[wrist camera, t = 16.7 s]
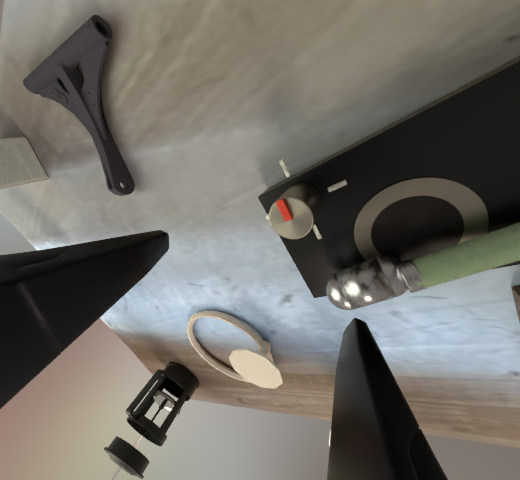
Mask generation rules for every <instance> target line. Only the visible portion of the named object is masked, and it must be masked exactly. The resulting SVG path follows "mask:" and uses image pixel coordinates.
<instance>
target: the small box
mask: <svg viewBox="0 0 520 480" xmlns="http://www.w3.org/2000/svg"><path fill="white" fill-rule="evenodd" d="M45 179H48V176H47V174H46V172H45V171H44V169H43V167H42V165H41V164H40V162H39V160H38V158H37V156H36V154H35V153H34V151H33V149H32V147H31V145H30V144H29V142H28V140H27V139H26V137H11V138H0V189H3V188H7V187H12V186H17V185H22V184H26V183H31V182H36V181H41V180H45Z"/></svg>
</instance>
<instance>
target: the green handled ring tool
mask: <svg viewBox="0 0 520 480" xmlns="http://www.w3.org/2000/svg"><path fill="white" fill-rule="evenodd" d="M516 261H520V222H518V223H516V224H513V225H510V226H507V227H504V228H501V229H499V230H496V231H493V232H490V233H487V234H484V235H482V236H479V237H476V238H473V239H470V240H467V241H465V242H462V243H459V244H456V245H453V246H450V247H448V248H445V249H442V250H439V251H436V252H433V253H431V254H428V255H425V256H422V257H419V258H416V259H414V260H411V259H407V260H404V261H402V260H400V259H399V258H396V257H394V256H389V255H383V256H378V257H375V258H372V259H370V260H367V261H364V262H362V263H359V264H356V265H354V266H351V267H349V268H346V269H343V270H341V271H338V272H336V273H334V274H333V275H332V276H331V277H330V278H329V279H328V281H327V284H326V293H327V296H328V298H329V300H330V301H331V303H332V304H333V305H335V306H336V307H338V308H340V309H344V310H353V309H357V308H361V307H364V306H367V305H371V304H374V303H377V302H381V301H384V300H388V299H391V298H394V297H398V296H400V295H402V294H404V293H405V292H406V291H407V290H408V289H409V291H410V292H411V293H413V292H416V291H420V290H423V289H426V288H428V287H431V286H435V285H438V284H442V283H445V282H448V281H452V280H455V279H459V278H462V277H465V276H469V275H472V274H475V273H479V272H482V271H486V270H489V269H492V268H496V267H499V266H503V265H506V264H509V263H513V262H516Z"/></svg>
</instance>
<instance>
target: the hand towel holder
mask: <svg viewBox="0 0 520 480" xmlns="http://www.w3.org/2000/svg"><path fill="white" fill-rule="evenodd" d="M201 317H212V318H216V319H221V320H223V321H225V322H228V323H230V324H232V325H234V326H236V327H237V328H239V329H240V330H242V331H244V332H245V333H246V334H247V335H248V336H250V337H251V338H252V339H253V340H254V341H255V342H256V343H257V344H258V350H257V351H255V350H252V349H236V350H234V351H233V352H232V354H231V355H230V357H229V359H230V362H231V364H232V366H233V369H234V370H235V371H233V370H231V369H229V368H227V367H225V366H224V365H222V364H221V363H219V362H218V361H216V360H215V359H214V358H212V357H211V356H210V355H209V354H208V353H207V352H206V351H205V350H204V349H203V348H202V347H201V345H200V344H199V342H198V341H197V339H196V337H195V335H194V333H193V323H194V322H195V321H196V320H197V319H198V318H201ZM187 332H188V337H189V339H190V341H191V344H192V345H193V347H194V348H195V349H196V351H197V352H198V353H199V354H200V355H201V356H202V357H203V359H205V360H206V361H207V362H208V363H209V364H210V365H212V366H213V367H215V368H216V369H218V370H219V371H221V372H222V373H224V374H226V375H228V376H230V377H233V378H236V379H238V380H242V381H247V382H251V383H253V384H255V385H257V386H259V387H263V388H274V389H275V388H277V387H278V386H279V385H280V384H282V383H283V382H282V379H281V375H280V372H279V369H278V367H277V365H275V364H274V363H273V359H272V353H271V351H270V350H271V348H270V343H269V342H268V341H266V340H263V339H262V338H261V337H260V335H259V334H258V333H256V332H255V331H254V330H253V329H252V328H251V327H249V326H248V325H247V324H245V323H244V322H242V321H240V320H239V319H237V318H235V317H233V316H230V315H228V314H226V313H222V312H218V311H201V312H199V313H196V314H194V315H193V316H192V317H191V318H190V319H189V322H188V326H187ZM236 371H237V372H236Z"/></svg>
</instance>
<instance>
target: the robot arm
mask: <svg viewBox="0 0 520 480" xmlns="http://www.w3.org/2000/svg"><path fill="white" fill-rule="evenodd" d="M168 249H169V235H168V233H166V232H164V231H162V230H157V231H151V232H145V233H139V234H134V235H128V236H122V237H116V238H110V239H105V240H99V241H93V242H87V243H81V244H76V245H71V246H64V247H58V248H52V249H46V250H39V251H31V252H24V253H16V254H8V255H0V409H1V408H2V407H3V406H4V405H5V404H6V403H7V402H8V401H9V400H11V399H12V398H13V397H14V396H15V395H16V394H17V393H18V392H19V391H20V390H21V389H22V388H24V387H25V386H26V385H27V384H28V383H29V382H30V381H31V380H32V379H33V378H34V377H36V376H37V375H38V374H39V373H40V372H41V371H42V370H43V369H44V368H45V367H46V366H47V365H48V364H50V363H51V362H52V361H53V360H54V359H55V358H56V357H57V356H58V355H60V354H61V352H63V350H65V349H66V348H67V347H68V346H69V345H70V344H71V343H72V342H73V341H74V340H75V339H77V338H78V337H79V336H80V335H81V334H82V333H83V332H84V331H85V330H87V329H88V328H89V327H90V326H91V325H92V324H93V323H94V322H95V321H96V320H97V319H98V318H100V317H101V316H102V315H103V314H104V313H105V312H106V311H107V310H108V309H109V308H110V307H112V306H113V305H114V304H115V303H116V302H117V301H118V300H119V299H120V298H121V297H122V296H124V295H125V294H126V293H127V292H128V291H129V290H130V289H131V288H132V287H133V286H134V285H135V284H137V283H138V282H139V281H140V280H141V279H142V278H143V277H144V276H145V275H146V274H147V273H148V272H149V271H150V270H151V269H152V268H153V267H154V265H155V264H156V263H157V262H158V261H159V260H160V259H161V258H162V256H163V255H164V254H165V253H166V252H167V251H168ZM327 480H448V479H447V477H446V475H445V474H444V472H443V470H442V468H441V466H440V464H439V462H438V461H437V459H436V457H435V455H434V453H433V451H432V450H431V448H430V446H429V444H428V442H427V440H426V438H425V436H424V434H423V432H422V430H421V429H419V425H418V423H417V421H416V419H415V417H414V415H413V413H412V411H411V409H410V407H409V405H408V403H407V401H406V400H405V398H404V396H403V394H402V392H401V390H400V388H399V386H398V384H397V382H396V380H395V378H394V376H393V374H392V372H391V370H390V369H389V367H388V365H387V363H386V361H385V359H384V357H383V355H382V353H381V351H380V349H379V347H378V345H377V343H376V341H375V340H374V338H373V336H372V334H371V332H370V330H369V328H368V326H367V324H366V323H365V322H364V321H362V320H359V319H357V318H354V319H353V320H352V321H351V323H350V324H349V325H348V326H347V328H346V329H345V331H344V334H343V339H342V344H341V348H340V353H339V358H338V363H337V369H336V377H335V389H334V401H333V414H332V426H331V438H330V451H329V463H328V475H327Z"/></svg>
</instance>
